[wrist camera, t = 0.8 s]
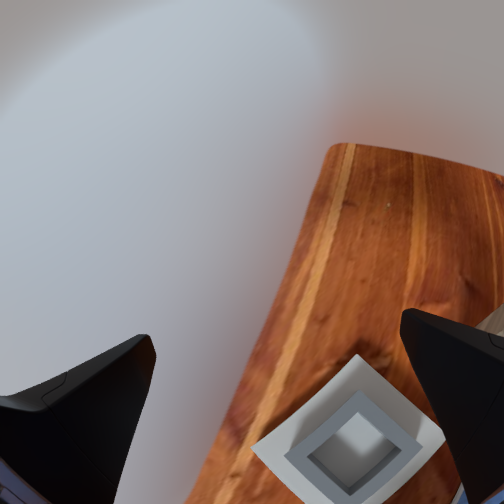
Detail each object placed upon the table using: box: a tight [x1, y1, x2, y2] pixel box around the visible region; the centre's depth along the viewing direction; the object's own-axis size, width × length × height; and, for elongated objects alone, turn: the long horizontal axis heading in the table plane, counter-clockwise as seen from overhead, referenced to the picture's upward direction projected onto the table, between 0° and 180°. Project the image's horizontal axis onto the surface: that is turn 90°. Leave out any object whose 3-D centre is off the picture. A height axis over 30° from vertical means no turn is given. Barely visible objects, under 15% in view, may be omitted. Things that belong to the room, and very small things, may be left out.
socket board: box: [250, 354, 446, 504], centre depth 16 cm, size 12×12×4 cm
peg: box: [474, 303, 504, 337], centre depth 14 cm, size 4×4×9 cm
